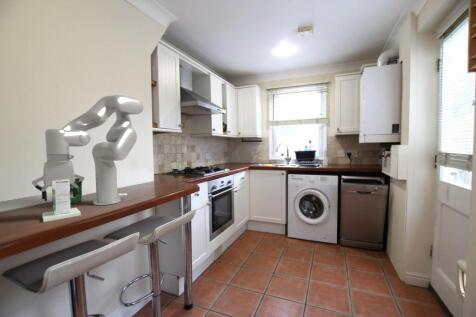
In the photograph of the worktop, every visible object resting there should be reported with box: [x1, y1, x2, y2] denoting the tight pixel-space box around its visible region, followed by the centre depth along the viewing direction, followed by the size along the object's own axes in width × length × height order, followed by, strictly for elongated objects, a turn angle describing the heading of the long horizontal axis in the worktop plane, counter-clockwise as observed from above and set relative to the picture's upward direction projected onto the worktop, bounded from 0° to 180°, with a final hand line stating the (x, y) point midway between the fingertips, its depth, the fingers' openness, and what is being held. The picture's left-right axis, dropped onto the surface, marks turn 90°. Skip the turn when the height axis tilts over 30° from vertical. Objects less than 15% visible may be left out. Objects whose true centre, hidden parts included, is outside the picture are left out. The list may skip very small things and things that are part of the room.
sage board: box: [41, 207, 82, 223], centre depth 94 cm, size 12×11×1 cm
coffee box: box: [70, 177, 83, 204], centre depth 115 cm, size 8×3×13 cm, turn 117°
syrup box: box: [51, 180, 71, 215], centre depth 94 cm, size 6×6×14 cm
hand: (60, 198), depth 93 cm, fingers open, 9 cm apart
